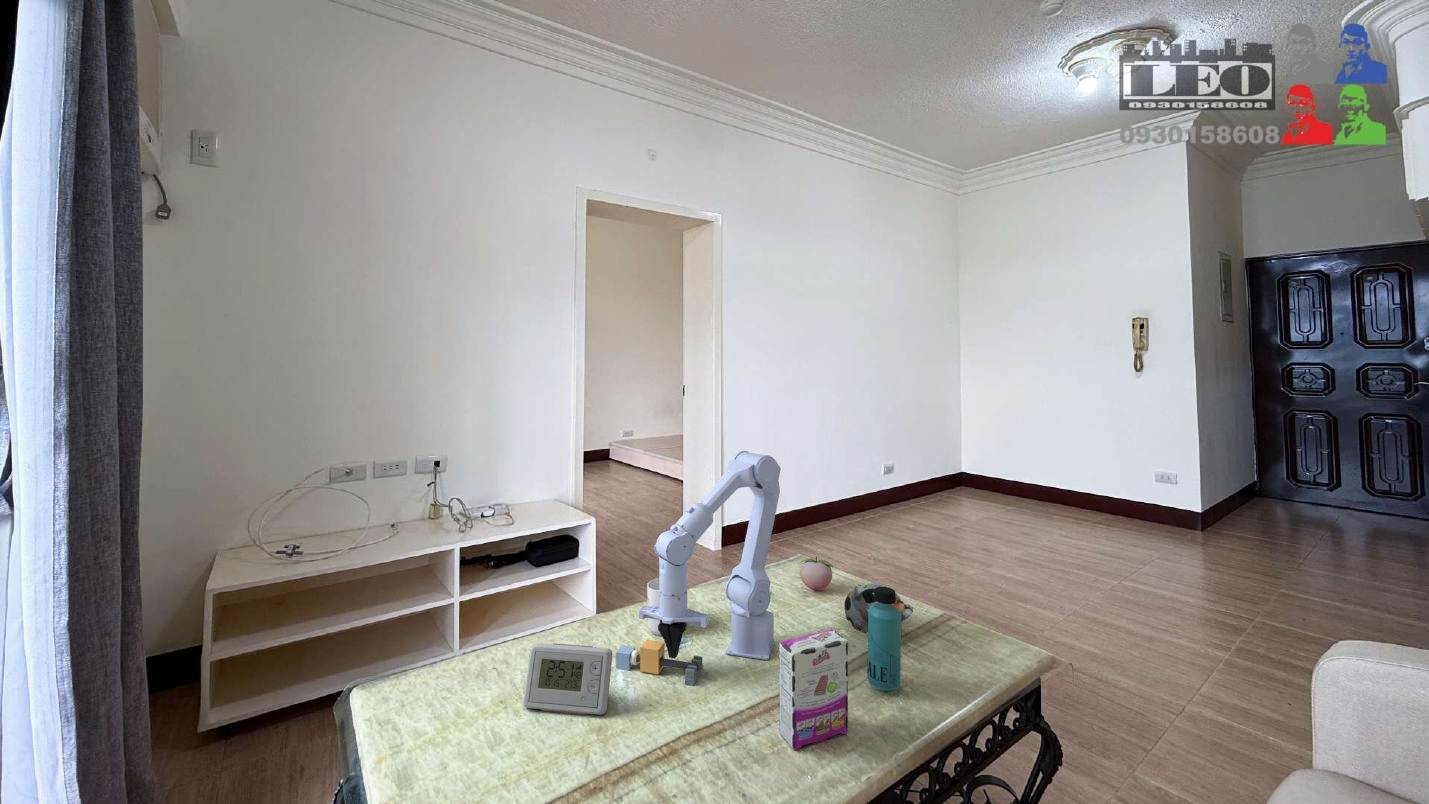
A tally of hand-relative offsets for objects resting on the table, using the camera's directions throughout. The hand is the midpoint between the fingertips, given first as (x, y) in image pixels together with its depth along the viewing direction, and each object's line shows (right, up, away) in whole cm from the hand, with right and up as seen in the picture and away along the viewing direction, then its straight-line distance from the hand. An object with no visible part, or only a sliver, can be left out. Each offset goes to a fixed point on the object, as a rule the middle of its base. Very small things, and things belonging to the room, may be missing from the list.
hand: (673, 655), depth 110 cm
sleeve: (-5, -4, +1) cm, 6 cm away
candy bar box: (+25, -5, -18) cm, 32 cm away
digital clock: (-19, -4, -11) cm, 22 cm away
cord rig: (-3, -4, +1) cm, 5 cm away
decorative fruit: (+37, -2, +42) cm, 57 cm away
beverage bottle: (+41, -4, -5) cm, 42 cm away
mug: (-4, -3, +21) cm, 22 cm away
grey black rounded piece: (+48, -3, +21) cm, 53 cm away
